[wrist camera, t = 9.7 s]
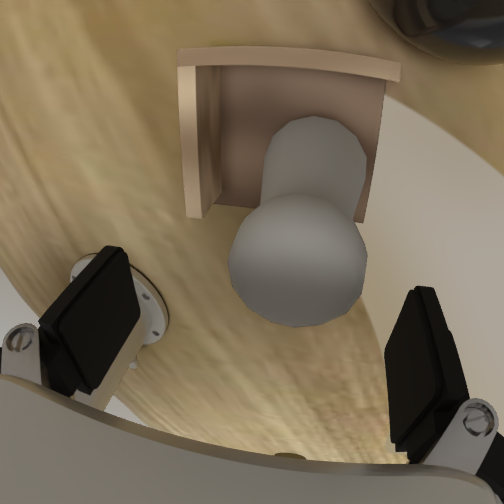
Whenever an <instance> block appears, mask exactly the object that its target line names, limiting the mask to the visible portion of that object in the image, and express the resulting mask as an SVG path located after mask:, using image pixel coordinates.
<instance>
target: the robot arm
mask: <svg viewBox="0 0 504 504" xmlns="http://www.w3.org/2000/svg"><path fill="white" fill-rule="evenodd" d="M38 322H39V324H40V327H39V328H38V329H37V328H36V327H35V326H34V325H32V324H28V323H24V324H20V325H17V326H15V327H14V328H12V329H11V330H10V331H9V332H8V333H7V334H6V336H5V338H4V340H3V344H2V347H0V504H504V437H503V436H502V435H501V434H499V433H498V432H497V430H498V426H499V424H498V416H497V413H496V411H495V410H494V408H493V407H492V406H491V405H490V404H489V403H488V402H486V401H484V400H482V399H478V398H474V399H470V397H469V393H468V389H467V385H466V381H465V377H464V373H463V369H462V366H461V362H460V359H459V355H458V352H457V348H456V345H455V342H454V339H453V336H452V333H451V332H450V331H449V330H448V327H447V324H446V321H445V318H444V315H443V312H442V309H441V306H440V304H439V301H438V298H437V295H436V292H435V290H434V288H432V287H425V286H416V287H415V288H414V290H410V291H409V292H408V294H407V297H406V300H405V302H404V305H403V307H402V310H401V312H400V314H399V317H398V319H397V322H396V324H395V326H394V329H393V331H392V333H391V336H390V338H389V340H388V343H387V345H386V347H385V352H384V359H385V368H386V378H387V390H388V402H389V418H390V438H391V442H392V443H395V450H396V452H407V458H408V459H409V460H408V462H407V463H406V464H364V463H344V462H328V461H315V460H305V459H295V458H287V457H280V456H272V455H266V454H260V453H254V452H248V451H242V450H237V449H232V448H227V447H222V446H217V445H213V444H209V443H204V442H200V441H196V440H192V439H188V438H184V437H180V436H177V435H173V434H170V433H166V432H163V431H159V430H156V429H153V428H150V427H146V426H143V425H140V424H137V423H134V422H131V421H128V420H125V419H122V418H120V417H117V416H114V415H111V414H109V413H106V412H104V410H105V408H106V406H107V405H108V403H109V401H110V399H111V397H112V395H113V394H114V392H115V390H116V388H117V386H118V385H119V383H120V381H121V379H122V377H123V376H124V374H125V372H126V370H127V369H128V367H130V368H131V369H135V368H137V367H138V366H139V362H138V360H137V358H136V355H137V353H138V352H139V350H140V348H141V346H142V345H148V344H153V343H155V342H157V341H158V340H160V339H161V338H162V336H163V334H164V333H165V331H166V329H167V326H168V314H167V309H166V307H165V305H164V302H163V300H162V299H161V297H160V295H159V294H158V292H157V291H156V290H155V288H154V287H153V286H152V285H151V284H150V282H149V281H148V280H147V279H145V278H144V277H143V276H142V275H141V274H140V273H139V272H137V271H136V270H135V269H133V268H132V267H131V266H130V264H129V260H128V256H127V253H126V252H124V250H123V249H122V248H121V247H115V246H105V247H104V248H103V249H102V250H101V251H100V252H99V253H98V254H92V255H87V256H85V257H83V258H81V259H80V260H79V261H78V262H77V263H76V264H75V265H74V267H73V268H72V270H71V274H70V284H69V285H68V287H67V288H66V289H65V290H64V291H63V292H62V293H61V294H60V296H59V297H58V298H57V299H56V300H55V301H54V303H53V304H52V305H51V306H50V307H49V308H48V310H47V311H46V312H45V313H44V314H43V316H42V317H41V318H40V319H39V321H38Z"/></svg>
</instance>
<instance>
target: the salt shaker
mask: <svg viewBox="0 0 504 504" xmlns="http://www.w3.org/2000/svg"><path fill="white" fill-rule="evenodd" d="M366 161H367V157H366V155H365V153H364V151H363V149H362V147H361V145H360V143H359V141H358V139H357V137H356V136H355V135H354V134H353V133H351V132H350V131H349V130H348V129H347V128H345V127H344V126H343V125H342V124H340V123H339V122H338V121H336V120H331V119H327V118H322V117H317V116H310V117H306V118H301V119H297V120H293V121H290V122H289V123H288V124H286V125H285V126H284V127H283V128H282V129H280V130H279V131H278V132H277V133H276V134H275V135H273V137H272V139H271V141H270V144H269V146H268V149H267V151H266V154H265V156H264V167H263V179H262V190H261V201H260V206H259V207H257V208H256V209H255V210H254V211H252V212H251V213H250V214H249V215H247V216H246V217H245V219H244V220H243V222H242V224H241V225H240V227H239V230H238V232H237V234H236V237H235V239H234V242H233V244H232V246H231V249H230V253H229V259H228V267H229V272H230V277H231V282H232V287H233V288H234V289H235V291H236V292H237V294H238V295H239V296H240V298H241V299H242V300H243V302H244V303H245V304H246V306H247V307H248V308H250V309H251V310H252V311H254V312H256V313H257V314H259V315H261V316H262V317H264V318H266V319H267V320H269V321H271V322H274V323H278V324H282V325H286V326H290V327H305V326H315V325H321V324H324V323H327V322H329V321H331V320H333V319H335V318H337V317H339V316H341V315H344V314H346V313H347V312H348V311H349V309H350V308H351V307H352V305H353V304H354V303H355V302H356V300H357V299H358V298H359V296H360V295H361V294H362V288H363V283H364V277H365V270H366V263H367V251H366V247H365V244H364V241H363V239H362V237H361V235H360V233H359V231H358V229H357V226H356V224H355V222H354V220H353V216H354V213H355V210H356V207H357V204H358V201H359V198H360V195H361V191H362V188H363V185H364V182H365V178H366Z"/></svg>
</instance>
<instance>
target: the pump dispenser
mask: <svg viewBox="0 0 504 504" xmlns="http://www.w3.org/2000/svg"><path fill="white" fill-rule="evenodd" d="M369 2H370V3H371V5H372V6H373V8H374V9H375V10H376V12H377V13H378V14H379V15H380V17H381V18H382V19H383V20H384V21H385V22H386V23H387V24H388V25H389V26H390V27H391V28H392V29H393V30H394V31H395V32H396V33H397V34H399V35H400V36H401V37H402V38H404V39H405V40H406V41H408V42H409V43H411V44H412V45H414V46H415V47H417V48H419V49H420V50H422V51H424V52H426V53H428V54H430V55H432V56H434V57H437V58H440V59H442V60H446V61H449V62H453V63H458V64H464V65H473V66H488V65H498V64H504V0H369Z"/></svg>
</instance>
